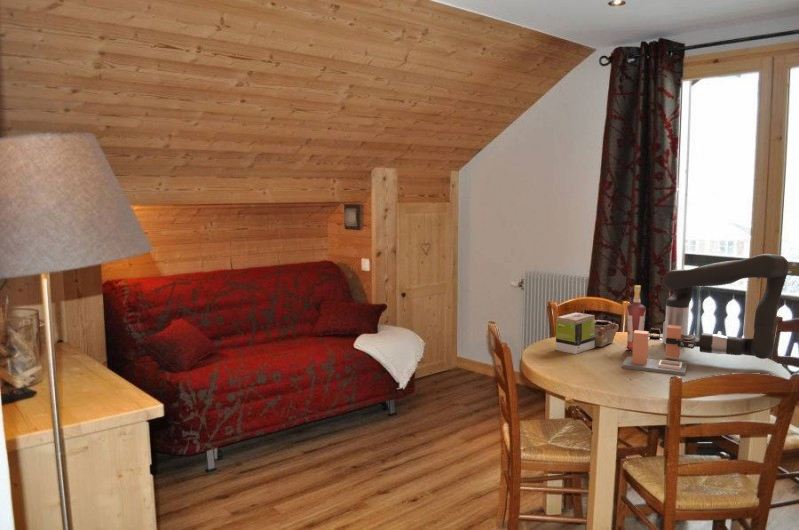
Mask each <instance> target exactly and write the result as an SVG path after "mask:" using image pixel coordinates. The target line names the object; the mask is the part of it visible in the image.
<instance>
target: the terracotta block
mask: <svg viewBox="0 0 799 530" xmlns="http://www.w3.org/2000/svg"><path fill="white" fill-rule="evenodd" d="M681 328H682V326H675V325H668V326H667V338H674V339H681ZM680 356H681V347H678V346H677V345H676V344H667V343H666V344H665V357H666V358H674V359H680Z"/></svg>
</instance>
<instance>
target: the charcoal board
mask: <svg viewBox="0 0 799 530" xmlns="http://www.w3.org/2000/svg"><path fill="white" fill-rule="evenodd" d="M649 332H650V330H649V331H647V330H644V331H639V330H635V331H634V333H633V352H632V356H629V355H628V356H626V358H625V359H624V360H623V363H622V364H621V366H622V369H628V370H636V371H645V372H651V373H652V372H653V373H660V374H661V373H662V374H667V375H668V374H669V375H670V374H671V375H679V376H683V377H684V376H686V373H687V367H688V363H687V362H683V361H676V360H675V361H674V360H666V359H654V358H648V356H649V355H648V354H649V353H648V352H649V339H648V336H650V333H649Z"/></svg>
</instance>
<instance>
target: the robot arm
mask: <svg viewBox="0 0 799 530" xmlns="http://www.w3.org/2000/svg"><path fill="white" fill-rule="evenodd" d="M789 265H790V264H789V261H788V259H787V258H786V257H784V256H783V255H780V254H773V253H762V254H758V255H755V256H750V257H748V258H745V259H740V260H728V261H720V262H719V261H718V262H714V263H710V264H705V265H701V266H697V267H694V268H690V269H684V268H683V269H672V270H669V271H667V272H666V273H665V274H664V275H663V276H662V284H663V286H664V288H665V289H667V290H668V291H671V292H672V294H671V296H669V297H668V298H667V299H666V303H665V319H664V320H665V321H663V322H662V323H663V324H662V325H663V326H662V337H663V340H662V343H664V344H665V345H666V343H667V344H676V345H677V346H678V347H680V348H687V349H694V348H699V352H700V353H707V354H714V355H716V354H717V355H731V356H743V355H744V356H748V357H749V356H751V357H755V358H756V359H761V360H765V359H767V358H770V357H771V356H772V354H773V351H774V340H775V338H774V337H775V336H774V334H775V329H776V323H777V315H778V307H779V303H780V299H781V295H782V292H783V290H784V286H785V284H786V283H785V282H786V279H787V276H788V272H789ZM749 278H763V279H766V284H765V289H764V292H763V294H762V297H761V298H760V300H759V302H758V303H757V305H756V306H757V307H756V309H755V313H754V323H753V337H750V338H749V337H739V336H729V335H728V336H727V335H723V334H715V333H703V332H702V333H700V337H696V335H694V334H688V333H689V332H688V330H689V317H690V315H689V313H690V303H691V301H692V298H693V296H692V295H693V291H694V290H693V289H694V287H716V286H723V285H724V286H725V285H730V284H733V283H735V282H738V281H740V280H743V279H749ZM668 325H675V326H682V328H681V339H674V338H667V326H668Z"/></svg>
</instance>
